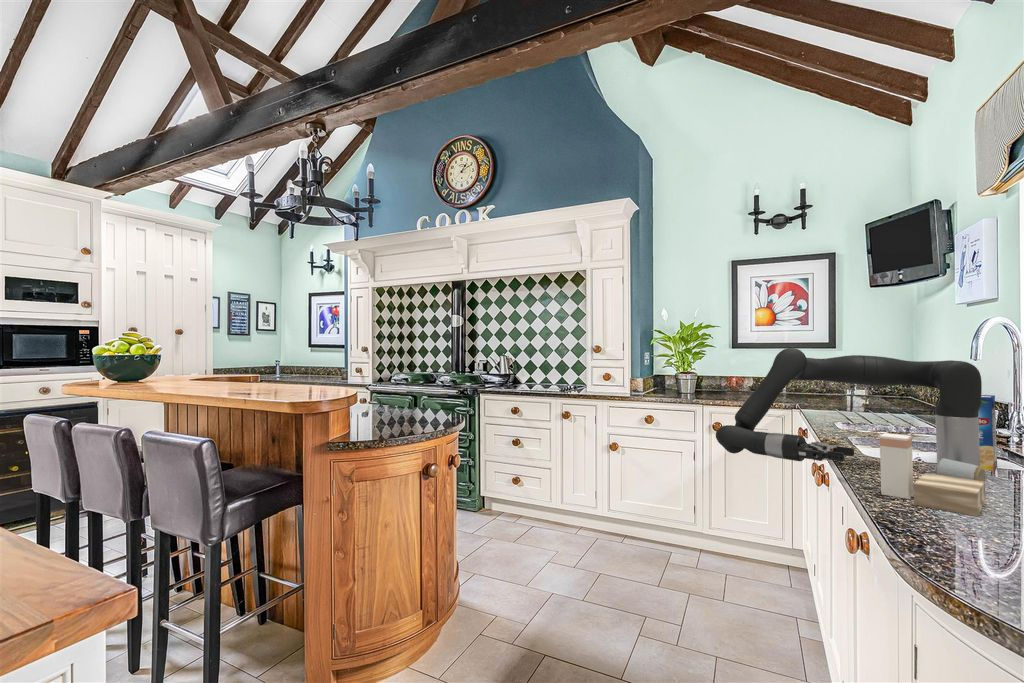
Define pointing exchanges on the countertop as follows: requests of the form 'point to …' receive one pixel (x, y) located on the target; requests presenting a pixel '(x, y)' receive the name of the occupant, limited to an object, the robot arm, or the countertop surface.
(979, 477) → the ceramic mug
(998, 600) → the countertop surface
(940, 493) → the tan wooden block
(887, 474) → the carton
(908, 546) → the countertop surface
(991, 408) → the blue pasta box
